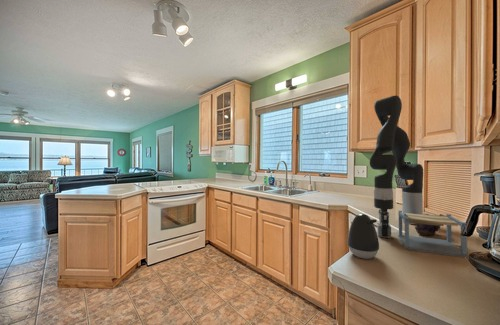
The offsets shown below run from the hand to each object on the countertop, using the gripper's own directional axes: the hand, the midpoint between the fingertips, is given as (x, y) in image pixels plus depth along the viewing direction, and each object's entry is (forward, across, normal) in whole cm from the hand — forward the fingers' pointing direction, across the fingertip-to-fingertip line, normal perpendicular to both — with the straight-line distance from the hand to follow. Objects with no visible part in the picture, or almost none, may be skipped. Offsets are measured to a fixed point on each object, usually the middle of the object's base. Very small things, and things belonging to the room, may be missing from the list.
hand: (384, 234), depth 99 cm
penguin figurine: (+1, +28, -9) cm, 30 cm away
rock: (+1, -13, +19) cm, 23 cm away
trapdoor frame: (+1, +6, +15) cm, 16 cm away
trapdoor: (-7, +5, +15) cm, 17 cm away
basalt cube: (+1, 0, 0) cm, 1 cm away
